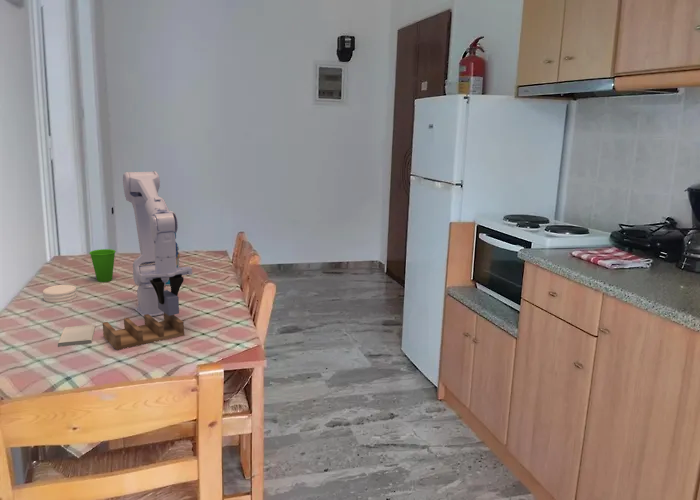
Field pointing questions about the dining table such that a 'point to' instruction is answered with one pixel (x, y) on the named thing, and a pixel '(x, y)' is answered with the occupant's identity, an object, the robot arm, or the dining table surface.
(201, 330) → the dining table surface
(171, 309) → the tall slate-grey prism
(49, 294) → the coaster
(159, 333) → the rack
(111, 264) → the cup
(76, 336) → the hard drive
